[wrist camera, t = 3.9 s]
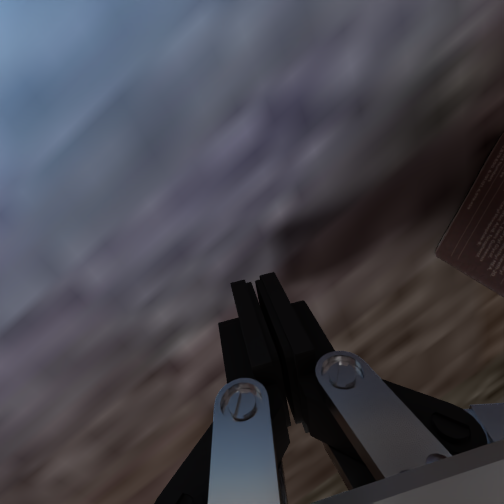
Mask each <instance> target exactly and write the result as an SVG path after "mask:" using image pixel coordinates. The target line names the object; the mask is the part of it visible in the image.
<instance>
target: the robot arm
mask: <svg viewBox="0 0 504 504" xmlns="http://www.w3.org/2000/svg"><path fill="white" fill-rule="evenodd" d="M255 283H256V288H257V294H258V299H259V302H258V299H257V297H256V294H255V291H254V289H253V286H252V283H251V282H249V283H246V282H245V280H241V281H237V282H233V283H230V284H231V288H232V292H233V296H234V300H235V304H236V308H237V312H238V316H239V318H235V319H231V320H228V321H224V322H220V323H218V325H219V332H220V339H221V345H222V352H223V359H224V365H225V372H226V378H227V384H226V385H225V386H224V387H223V388H222V389H221V390H220V392H219V393H218V395H217V397H216V400H215V405H214V418H213V423H212V424H211V425H210V427H209V428H208V429H207V431H206V432H205V434H204V435H203V436H202V438H201V439H200V440H199V442H198V443H197V445H196V446H195V447H194V449H193V450H192V451H191V453H190V454H189V456H188V457H187V458H186V460H185V461H184V462H183V464H182V465H181V466H180V468H179V469H178V471H177V472H176V473H175V475H174V476H173V477H172V479H171V480H170V482H169V483H168V484H167V486H166V487H165V488H164V490H163V491H162V493H161V494H160V495H159V497H158V498H157V500H156V502H155V503H154V504H288V500H287V493H286V485H285V477H284V469H283V462H282V457H283V455H284V453H285V451H286V449H287V447H288V445H289V443H290V440H289V434H288V429H287V427H288V426H291V422H290V417H289V411H288V405H287V400H288V403H289V406H290V409H291V412H292V415H293V417H294V420H295V423H296V424H298V423H301V422H302V424H303V427H304V430H305V432H306V433H308V432H310V435H311V436H312V437H314V438H316V439H318V440H320V441H322V443H323V445H324V448H325V450H326V452H327V453H328V455H329V457H330V459H331V460H332V462H333V464H334V466H335V467H336V469H337V471H338V473H339V475H340V476H341V478H342V480H343V482H344V483H345V485H346V487H347V489H348V490H349V491H346V492H343V493H340V494H337V495H334V496H331V497H328V498H325V499H322V500H320V501H317V502H314V503H311V504H504V403H495V404H479V405H470V408H469V409H462V408H460V407H457V406H455V405H453V404H451V403H448V402H445V401H442V400H439V399H437V398H434V397H431V396H428V395H425V394H423V393H420V392H417V391H414V390H411V389H408V388H406V387H403V386H400V385H397V384H394V383H391V382H389V381H386V380H383V379H381V378H380V377H379V376H378V375H377V374H376V373H375V372H374V371H373V370H372V369H371V368H370V367H369V366H368V364H367V363H366V362H365V361H364V360H362V359H361V358H360V357H359V356H357V355H355V354H353V353H350V352H346V351H335V350H334V349H333V347H332V345H331V344H330V342H329V340H328V339H327V337H326V335H325V334H324V332H323V330H322V329H321V327H320V325H319V324H318V322H317V320H316V319H315V317H314V316H313V314H312V312H311V311H310V309H309V307H308V306H307V304H306V303H305V301H299V302H295V303H290V301H289V299H288V297H287V296H286V294H285V292H284V290H283V288H282V286H281V284H280V282H279V280H278V278H277V277H276V275H275V273H274V272H272V273H268V274H264V275H260V280H256V281H255ZM259 304H260V305H259ZM286 397H287V399H286Z"/></svg>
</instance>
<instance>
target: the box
mask: <svg viewBox="0 0 504 504" xmlns="http://www.w3.org/2000/svg"><path fill="white" fill-rule="evenodd" d="M435 255H436V257H438V258H440V259H442V260H443V261H445V262H447V263H448V264H450V265H452V266H453V267H455V268H456V269H458V270H460V271H461V272H463V273H464V274H466V275H468V276H469V277H471V278H473V279H474V280H476V281H478V282H479V283H481V284H483V285H484V286H486V287H487V288H489V289H491V290H493V291H494V292H496V293H497V294H499V295H501V296H502V297H504V133H503V134H502V135H501V137H500V138H499V140H498V142H497V144H496V145H495V147H494V148H493V150H492V152H491V153H490V155H489V157H488V159H487V160H486V162H485V164H484V166H483V167H482V169H481V171H480V173H479V175H478V177H477V178H476V180H475V182H474V184H473V186H472V187H471V189H470V191H469V193H468V195H467V196H466V198H465V200H464V202H463V203H462V205H461V207H460V209H459V211H458V212H457V214H456V216H455V218H454V219H453V221H452V222H451V224H450V226H449V228H448V230H447V231H446V233H445V234H444V235H443V238H442V240H441V242H440V243H439V245H438V247H437V249H436V251H435Z"/></svg>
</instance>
